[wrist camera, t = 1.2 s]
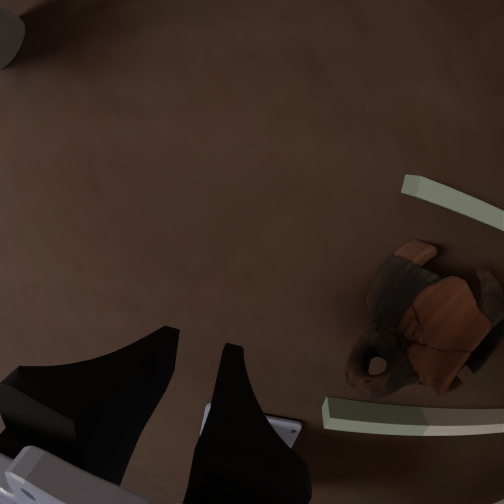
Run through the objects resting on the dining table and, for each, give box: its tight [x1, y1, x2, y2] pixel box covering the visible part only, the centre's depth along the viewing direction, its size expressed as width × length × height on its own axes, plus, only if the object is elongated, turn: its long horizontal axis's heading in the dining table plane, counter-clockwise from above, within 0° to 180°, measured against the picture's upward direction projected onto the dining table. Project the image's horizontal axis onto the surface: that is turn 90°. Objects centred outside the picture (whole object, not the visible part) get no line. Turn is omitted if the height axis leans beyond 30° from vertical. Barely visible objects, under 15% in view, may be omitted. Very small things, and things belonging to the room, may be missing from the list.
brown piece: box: [345, 239, 504, 399], centre depth 18 cm, size 12×10×8 cm
